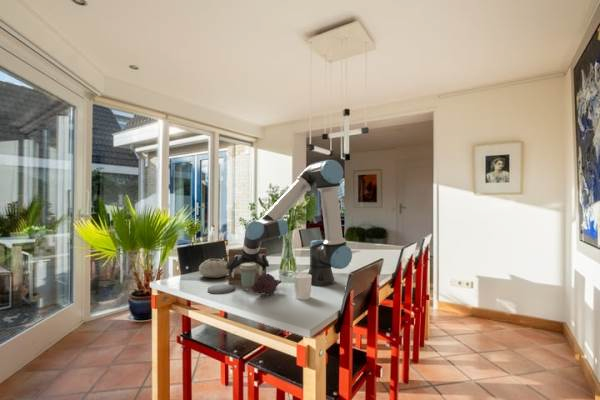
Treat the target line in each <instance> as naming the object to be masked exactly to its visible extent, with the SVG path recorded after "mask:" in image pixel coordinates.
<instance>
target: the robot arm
mask: <svg viewBox="0 0 600 400" xmlns="http://www.w3.org/2000/svg"><path fill="white" fill-rule="evenodd" d="M343 177H344V169H343V167H342V165H341V164H340V162H338V161H337V160H334V159H325V160H321V161H316V162H313V163H311V164H309V165H307V167H305V168H304V170H302V172H300V174H298V176H297V177H296V181H295V182H293V184H291V186H290V187H289V188H288V189H287V190H286V191H285V192H284V194H282V196H280V198H278V200H277V201H276V202H275V203H274V204H273V205H272V206H271V207H270V208H269V210H267V212H265V214H264V215H262V216H261V218H259V219H258V218H257V219H256V220H252V221H250V222H248V223H247V225H246V227H245V231H244V239H243V246H242V249H243V251H242V254H241V255H238V254H237V253H235V255H234V257H233V258H232V259H231V260H230V261H229V260H228V263H227V269H230V273H232V277H234V271H235V268H236V267H237V266H239V265H240V264H243V263H245V262H253V261H254V262H255V263H257V264H259V265H260V269H259V275H261V274H262V271H264V269H266V270H267V268H268V267H270V263H269V260H268V258H267V256H266V257H265V255H264V252H262V254H259V249H260V248H261V244H262V243H263V242H265V241H268V240H271V239H274V238H275V239H276V238H279V237H282V236H285V235H286V234H288V232H289V227H288V226H289V225H288V223H287V221H286V220H285V219H283V217H285V215H286V214H287V213H288V212H289V211H290V210H291V208H293V207H294V206H295V205H296V203H297V202H298V201H299V200H300V199H301V198H302V197H303V195H305V193H307V192H310V191H311V190H312V189H313V188H314V187H316V190H318V191H319V194H320V201H321V210H322V211H321V212H322V217H323V228H324V236H325V238H324V239H315V240H311V241H310V244H309V268H308V269H309V270H308V273H307V274H310V275H312V281H311V286H312V285H313V286H317V287H318V286H320V287H321V286H331V285H332V286H333V285H334V284H335V276H334V273H333V271H332V268H333V269H335V270H336V269H338V270H343V269H345V268H347V267H348V266H349V265H350V263H351V262H352V259H353V252H352V250H351V248H350V247H349V246H347V240H346V238H344V237H343V229H342V220H341V219H342V218H341V211H340V202H339V191H338V190H339V189H340V187H341V184H340V183H341V182H342V180H343ZM259 257H260V258H261V259H262V260H263V261H262V260H260V259H259ZM239 258H240V259H239ZM265 267H266V268H265Z"/></svg>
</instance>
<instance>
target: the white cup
mask: <svg viewBox="0 0 600 400" xmlns="http://www.w3.org/2000/svg"><path fill="white" fill-rule="evenodd" d="M311 281H312V275H310V274H308V273H296V274H294V292H295V298H296V299H297V300H301V301H306V300H309V299H311V292H312V285H311Z"/></svg>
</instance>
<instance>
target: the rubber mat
mask: <svg viewBox="0 0 600 400" xmlns="http://www.w3.org/2000/svg"><path fill="white" fill-rule="evenodd" d="M235 287H236V286H235V285H234V284H228V283H225V284H224V283H223V284H222V283H221V284H219V283H218V284H215V285H211V286H209V287H207V293H209V294H214V295H222V294H223V295H224V294H228V293H232V292H234V291H235V290H236V288H235Z"/></svg>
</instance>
